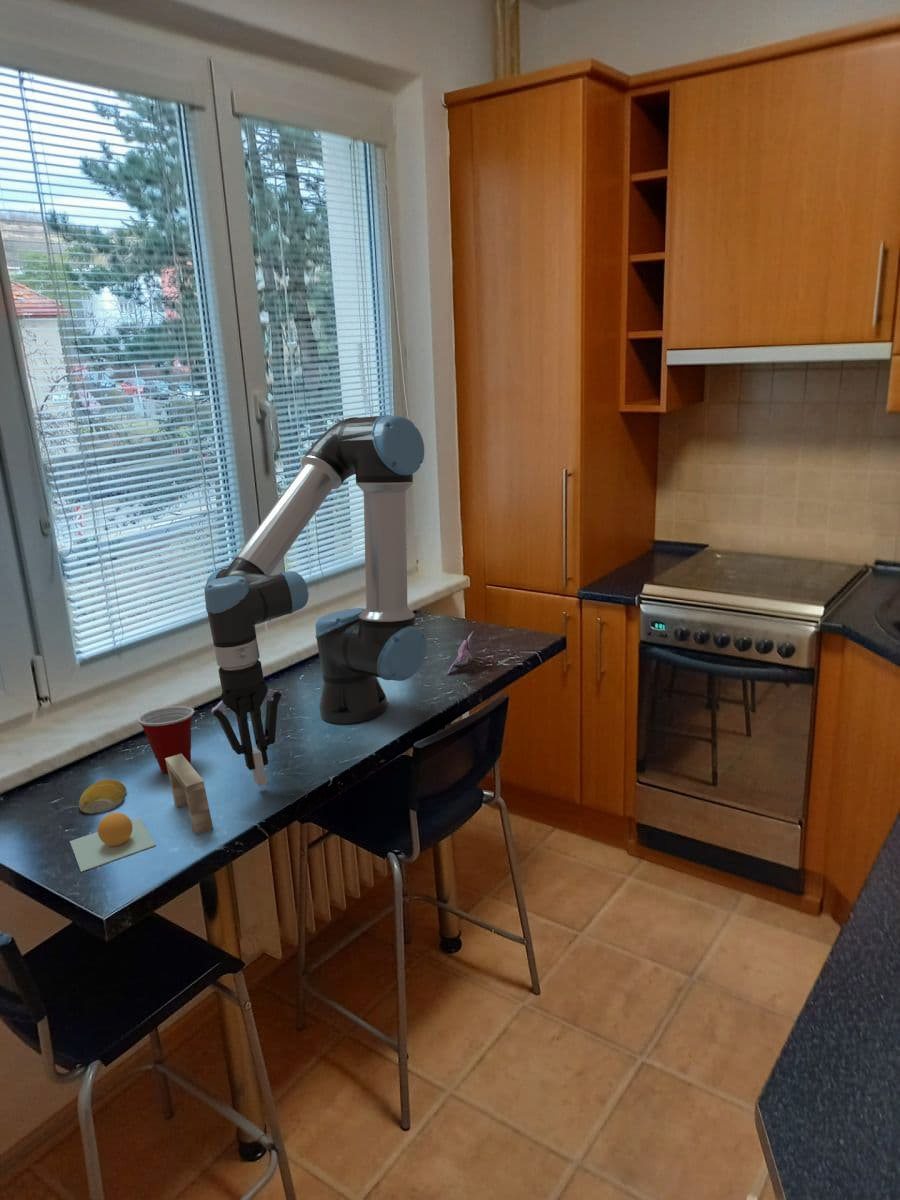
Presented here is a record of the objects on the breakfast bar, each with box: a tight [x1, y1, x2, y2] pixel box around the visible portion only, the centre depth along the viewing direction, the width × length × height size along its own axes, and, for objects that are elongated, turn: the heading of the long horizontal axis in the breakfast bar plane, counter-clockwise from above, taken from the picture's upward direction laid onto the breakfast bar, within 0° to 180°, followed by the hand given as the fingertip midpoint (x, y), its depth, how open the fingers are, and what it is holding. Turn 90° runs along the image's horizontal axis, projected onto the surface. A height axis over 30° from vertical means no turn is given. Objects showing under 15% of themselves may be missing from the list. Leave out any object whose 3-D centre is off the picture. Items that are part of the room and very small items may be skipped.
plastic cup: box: [137, 705, 195, 775], centre depth 173 cm, size 11×11×12 cm
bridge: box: [165, 753, 214, 836], centre depth 153 cm, size 3×14×9 cm, turn 32°
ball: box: [97, 812, 132, 846], centre depth 147 cm, size 6×6×6 cm
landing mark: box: [69, 817, 157, 873], centre depth 147 cm, size 12×12×1 cm
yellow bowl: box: [78, 779, 127, 815], centre depth 163 cm, size 8×9×4 cm
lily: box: [447, 631, 481, 674], centre depth 212 cm, size 12×12×10 cm
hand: (260, 782), depth 160 cm, fingers closed
